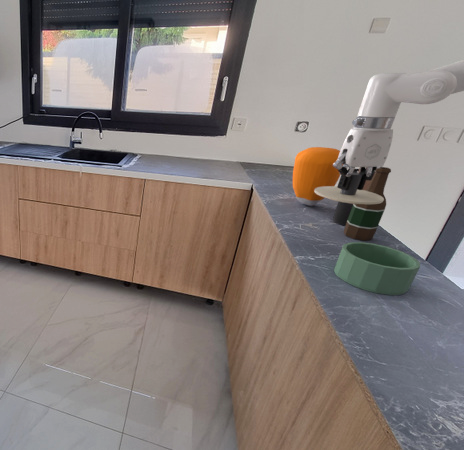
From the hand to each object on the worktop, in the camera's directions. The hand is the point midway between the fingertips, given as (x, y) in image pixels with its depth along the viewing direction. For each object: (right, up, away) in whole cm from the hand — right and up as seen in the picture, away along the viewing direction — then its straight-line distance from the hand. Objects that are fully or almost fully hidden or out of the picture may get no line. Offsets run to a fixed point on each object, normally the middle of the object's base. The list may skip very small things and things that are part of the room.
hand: (349, 188), depth 91 cm
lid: (0, -2, +1) cm, 2 cm away
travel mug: (+23, -10, +27) cm, 37 cm away
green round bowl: (-1, -25, -7) cm, 27 cm away
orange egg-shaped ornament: (+23, -2, +46) cm, 51 cm away
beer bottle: (+18, -15, +16) cm, 28 cm away
